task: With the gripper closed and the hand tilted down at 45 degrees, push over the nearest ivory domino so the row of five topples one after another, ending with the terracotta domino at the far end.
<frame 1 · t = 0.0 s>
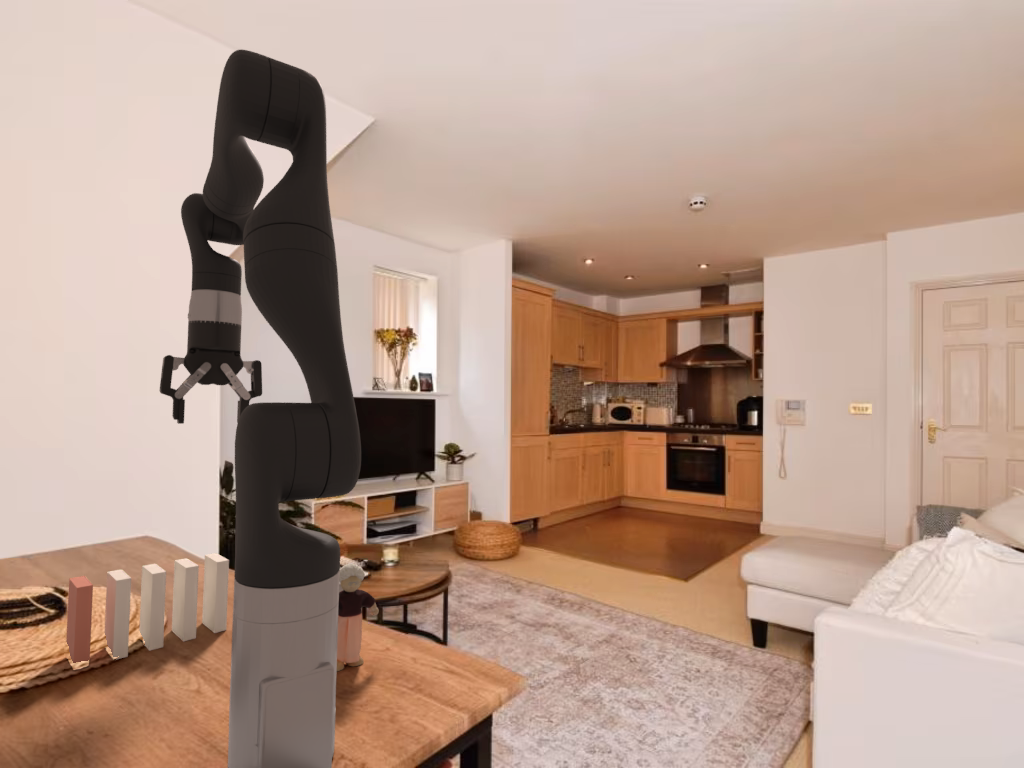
hand: (211, 423, 89), 29 cm above the table, tool pointing down, fingers open, 8 cm apart
rook chess piece: (335, 640, 78), on the table
domino 5: (77, 662, 70), on the table
grandmother figurine: (349, 664, 71), on the table
domino 4: (115, 652, 73), on the table
domino 1: (214, 626, 82), on the table
domino 3: (150, 642, 76), on the table
domino 2: (183, 634, 79), on the table
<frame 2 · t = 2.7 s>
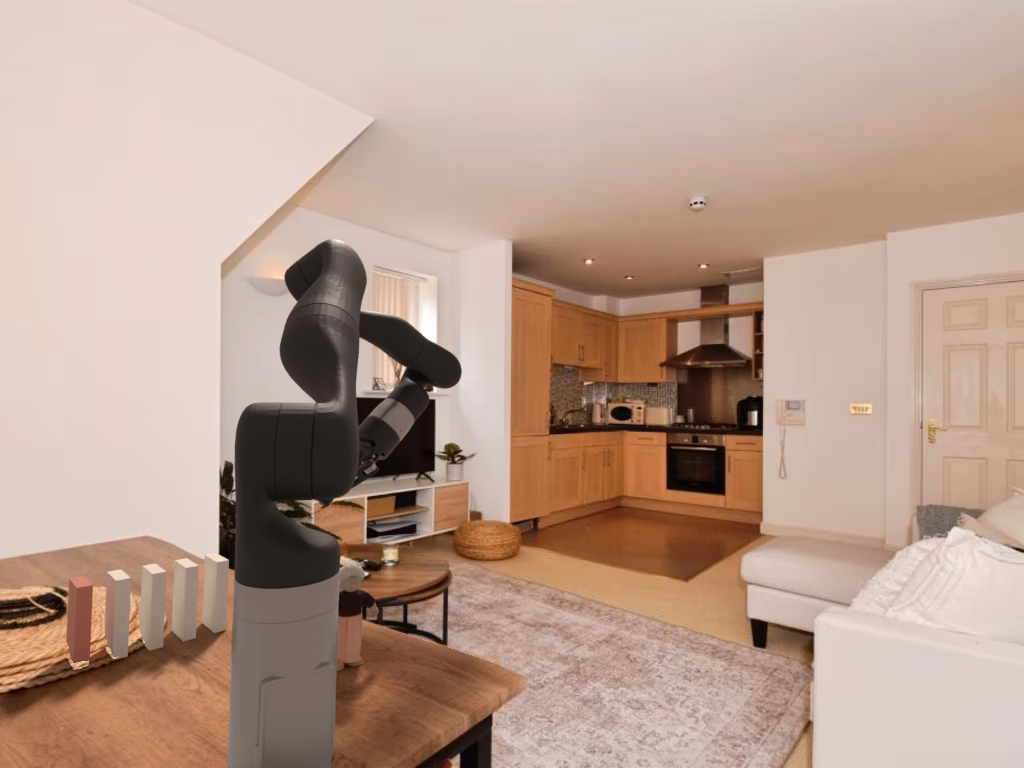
hand: (320, 502, 94), 16 cm above the table, tool tilted 45°, fingers closed
nothing on the table moved.
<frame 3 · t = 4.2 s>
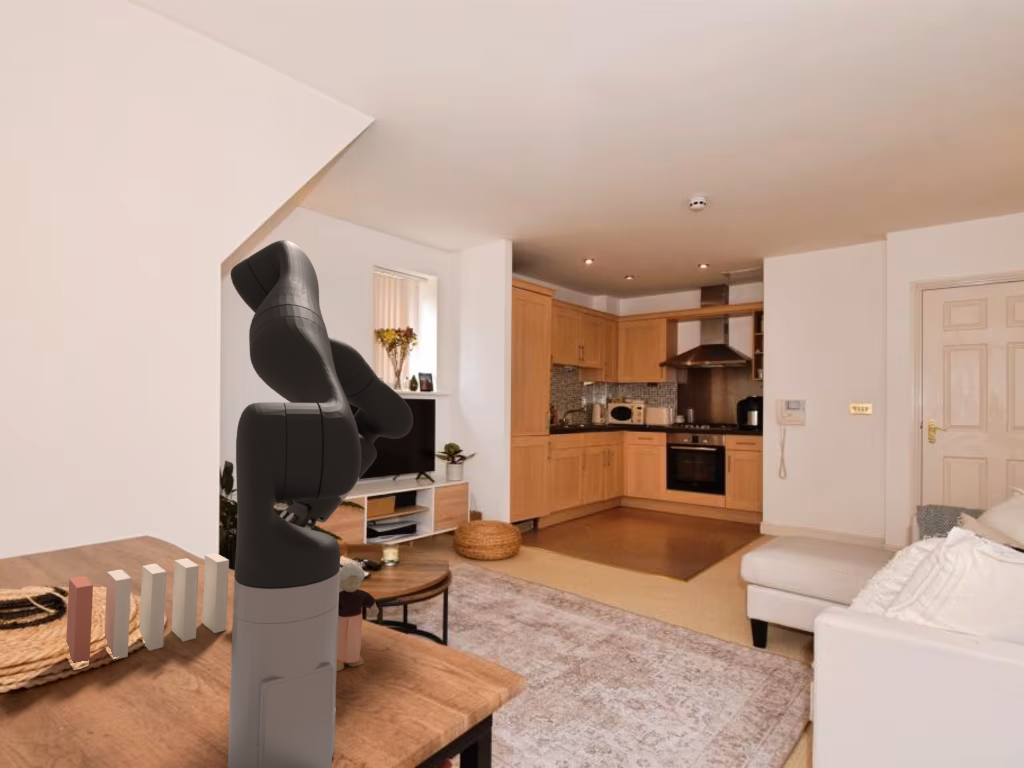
hand: (248, 575, 85), 6 cm above the table, tool tilted 45°, fingers closed
nothing on the table moved.
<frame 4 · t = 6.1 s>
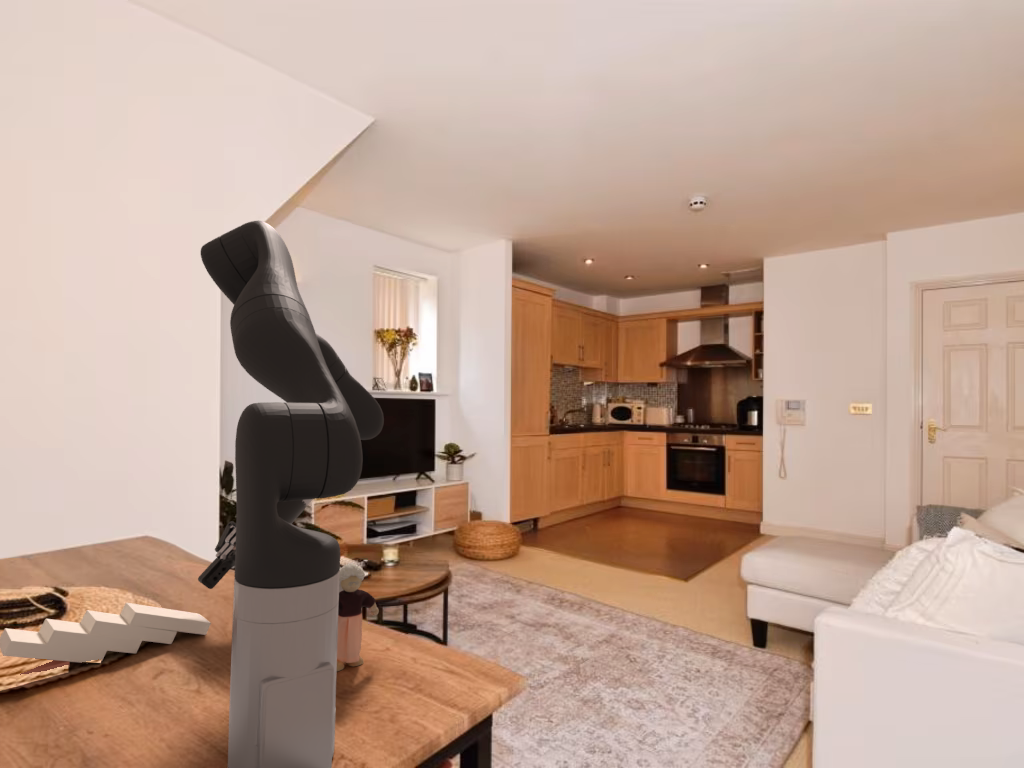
hand: (203, 584, 81), 6 cm above the table, tool tilted 45°, fingers closed
domino 5: (65, 661, 69), point 1 cm above the table, tilted 91°, touching domino 4
domino 4: (98, 651, 72), point 1 cm above the table, tilted 67°, touching domino 3, domino 5
domino 1: (202, 624, 81), point 1 cm above the table, tilted 67°, touching domino 2
domino 3: (133, 641, 75), point 1 cm above the table, tilted 66°, touching domino 2, domino 4
domino 2: (168, 632, 78), point 1 cm above the table, tilted 66°, touching domino 1, domino 3
everything else where it was.
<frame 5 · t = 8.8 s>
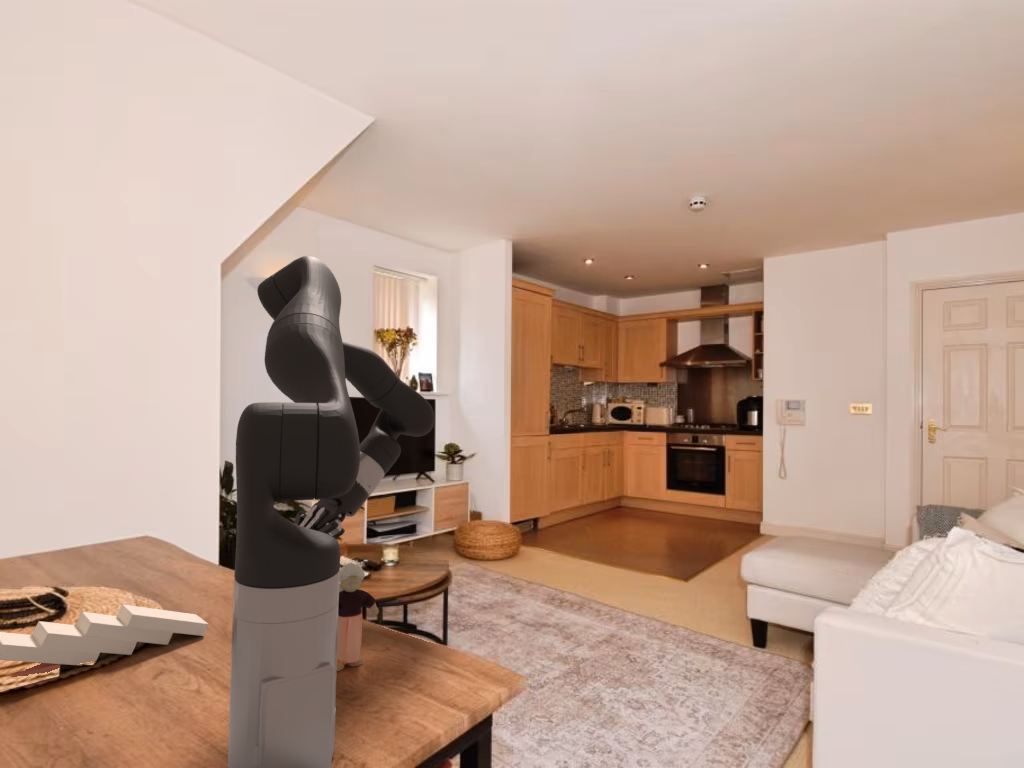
hand: (282, 567, 89), 7 cm above the table, tool tilted 45°, fingers closed
domino 4: (91, 653, 71), point 1 cm above the table, tilted 67°, touching domino 3, domino 5
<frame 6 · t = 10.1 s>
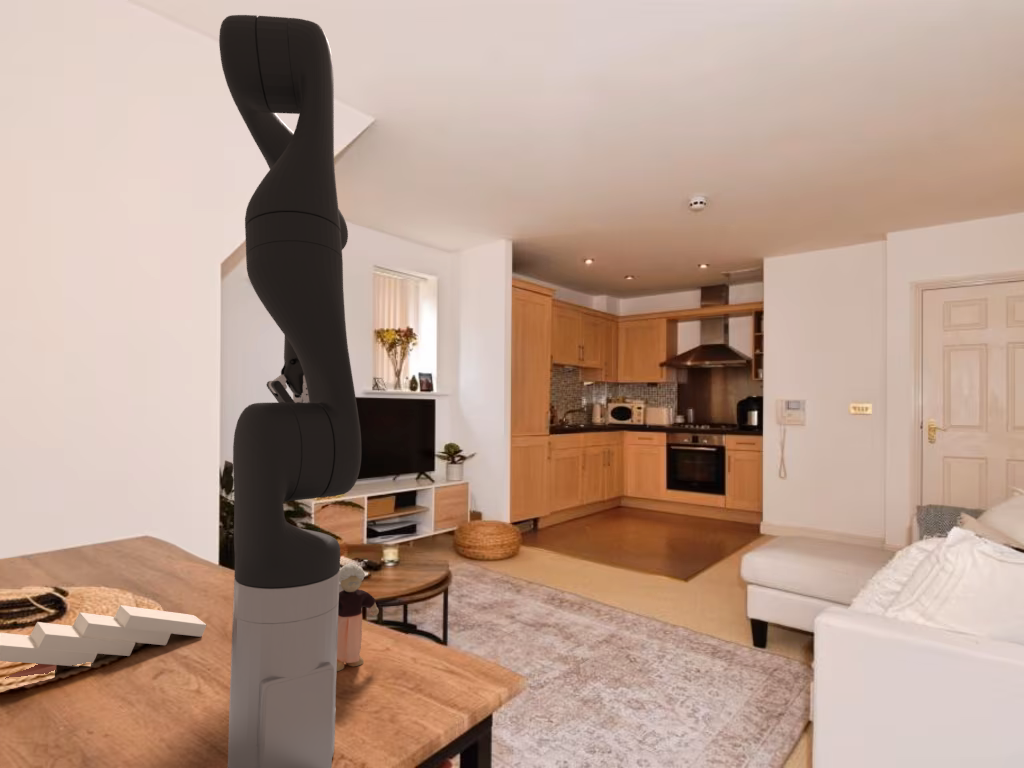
hand: (306, 440, 89), 27 cm above the table, tool pointing down, fingers closed
domino 4: (89, 653, 71), point 1 cm above the table, tilted 67°, touching domino 3, domino 5
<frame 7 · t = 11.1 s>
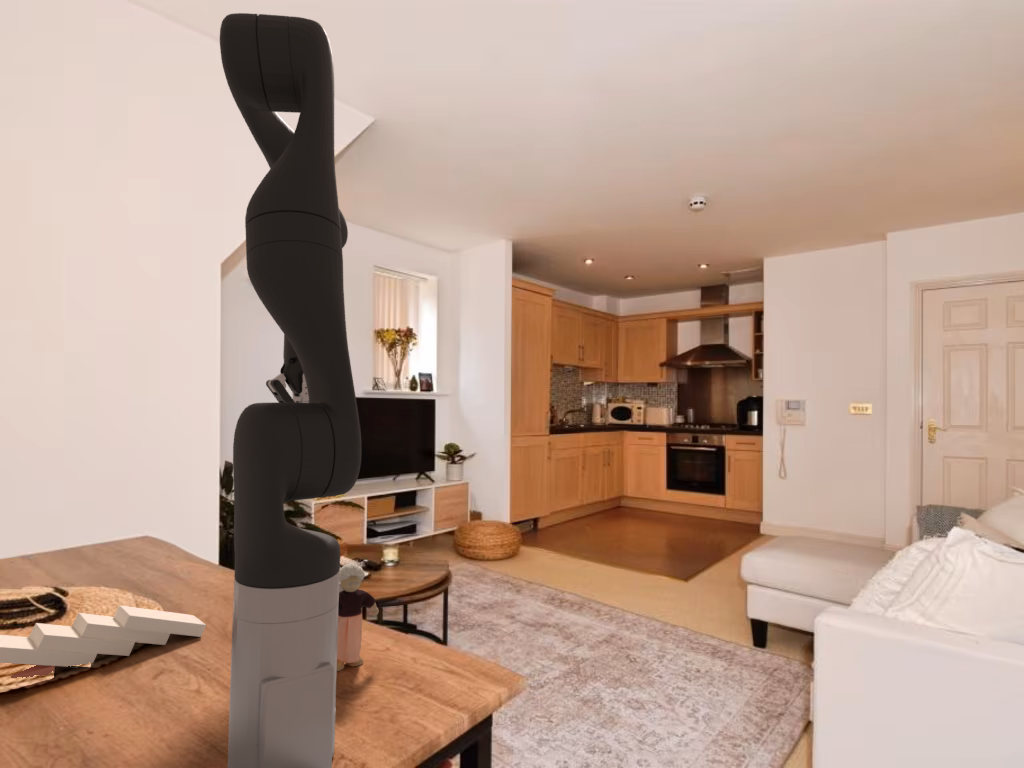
hand: (306, 439, 89), 27 cm above the table, tool pointing down, fingers closed
domino 4: (88, 654, 71), point 1 cm above the table, tilted 68°, touching domino 5
domino 3: (125, 643, 74), point 1 cm above the table, tilted 68°
domino 2: (161, 633, 77), point 1 cm above the table, tilted 68°, touching domino 1
at the end: domino 5 tilted 90°; domino 1 tilted 68°; domino 5 point 0.6 cm above the table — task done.
